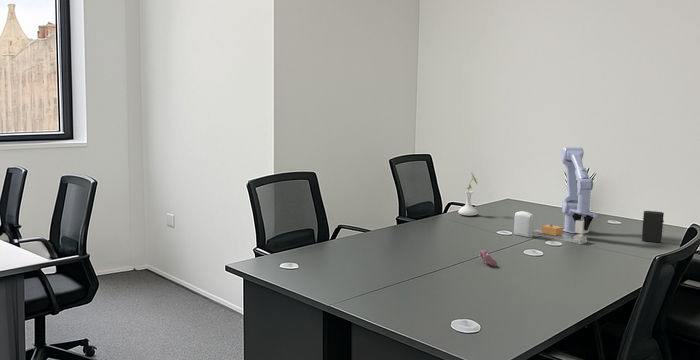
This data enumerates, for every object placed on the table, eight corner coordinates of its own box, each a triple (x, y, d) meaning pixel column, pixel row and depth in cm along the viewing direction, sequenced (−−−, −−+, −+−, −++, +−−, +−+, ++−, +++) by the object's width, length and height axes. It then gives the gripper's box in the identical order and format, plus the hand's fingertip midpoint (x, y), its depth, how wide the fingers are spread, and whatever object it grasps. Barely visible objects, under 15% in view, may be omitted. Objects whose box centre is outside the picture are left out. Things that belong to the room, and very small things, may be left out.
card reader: (661, 241, 339) (664, 211, 337) (661, 243, 335) (664, 213, 333) (641, 239, 343) (644, 210, 340) (641, 241, 339) (643, 211, 337)
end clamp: (548, 231, 351) (549, 223, 351) (562, 233, 345) (563, 225, 345) (541, 232, 347) (542, 224, 347) (555, 235, 341) (556, 227, 341)
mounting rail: (537, 232, 357) (537, 225, 356) (587, 242, 335) (587, 235, 334) (530, 233, 353) (530, 226, 353) (580, 244, 331) (581, 237, 331)
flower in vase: (473, 217, 391) (475, 174, 388) (455, 215, 397) (456, 172, 393) (481, 214, 402) (483, 171, 399) (463, 212, 408) (464, 170, 404)
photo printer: (512, 234, 350) (513, 210, 349) (517, 233, 353) (518, 209, 351) (529, 238, 343) (530, 213, 341) (534, 237, 345) (535, 212, 343)
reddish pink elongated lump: (482, 264, 299) (475, 250, 298) (491, 259, 299) (485, 245, 298) (488, 270, 289) (482, 256, 288) (498, 265, 289) (491, 251, 288)
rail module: (581, 230, 347) (582, 219, 346) (588, 232, 344) (589, 220, 343) (574, 232, 343) (575, 220, 342) (582, 233, 340) (582, 222, 339)
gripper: (566, 201, 344) (564, 227, 346) (592, 205, 333) (590, 233, 335) (574, 199, 349) (572, 226, 351) (600, 204, 338) (598, 231, 340)
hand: (581, 229), depth 343 cm, fingers closed on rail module, 4 cm apart
